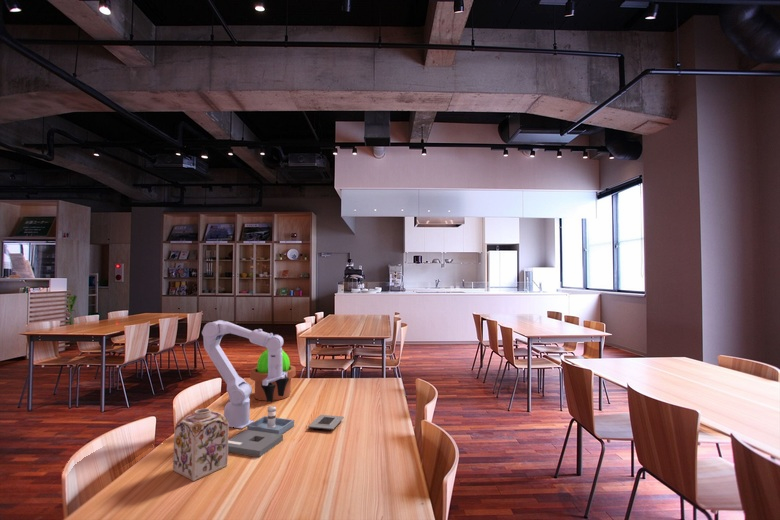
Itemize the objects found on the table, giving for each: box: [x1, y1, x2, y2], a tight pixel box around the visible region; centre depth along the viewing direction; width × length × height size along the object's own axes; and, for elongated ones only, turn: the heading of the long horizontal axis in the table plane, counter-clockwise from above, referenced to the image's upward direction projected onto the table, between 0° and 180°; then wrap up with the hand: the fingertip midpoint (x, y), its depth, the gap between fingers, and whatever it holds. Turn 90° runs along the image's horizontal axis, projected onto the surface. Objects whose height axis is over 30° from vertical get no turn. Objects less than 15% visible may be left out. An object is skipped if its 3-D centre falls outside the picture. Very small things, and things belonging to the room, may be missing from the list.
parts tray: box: [246, 415, 295, 435], centre depth 150 cm, size 14×11×2 cm
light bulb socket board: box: [228, 429, 284, 458], centre depth 135 cm, size 16×14×2 cm
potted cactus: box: [249, 348, 297, 402], centre depth 193 cm, size 22×22×25 cm
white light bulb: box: [267, 405, 277, 429], centre depth 150 cm, size 3×3×8 cm
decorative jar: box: [172, 408, 230, 482], centre depth 119 cm, size 12×12×18 cm
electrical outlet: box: [307, 414, 345, 431], centre depth 154 cm, size 13×10×2 cm
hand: (275, 398), depth 155 cm, fingers open, 7 cm apart
